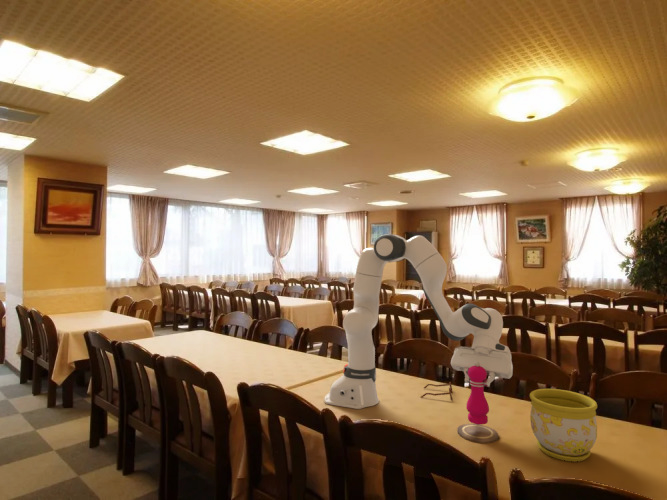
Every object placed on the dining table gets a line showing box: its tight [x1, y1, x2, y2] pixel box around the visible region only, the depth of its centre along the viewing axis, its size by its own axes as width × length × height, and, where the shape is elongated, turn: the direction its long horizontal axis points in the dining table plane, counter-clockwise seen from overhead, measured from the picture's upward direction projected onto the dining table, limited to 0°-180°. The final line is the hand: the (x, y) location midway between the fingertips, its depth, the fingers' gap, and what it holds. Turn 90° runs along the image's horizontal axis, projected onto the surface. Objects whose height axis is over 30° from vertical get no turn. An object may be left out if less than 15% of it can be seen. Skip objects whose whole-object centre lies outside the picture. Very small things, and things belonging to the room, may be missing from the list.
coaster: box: [456, 423, 499, 444], centre depth 135 cm, size 13×13×1 cm
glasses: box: [419, 381, 453, 400], centre depth 175 cm, size 13×13×5 cm
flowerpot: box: [529, 388, 598, 463], centre depth 123 cm, size 18×18×16 cm
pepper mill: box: [466, 361, 490, 425], centre depth 135 cm, size 7×7×20 cm
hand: (476, 383), depth 135 cm, fingers closed on pepper mill, 5 cm apart
